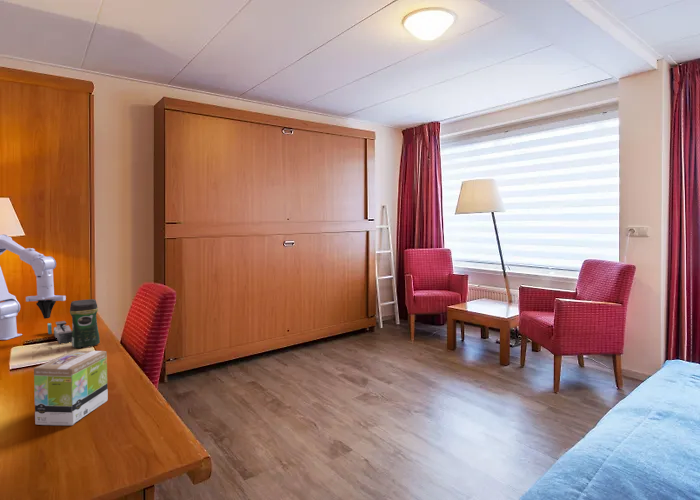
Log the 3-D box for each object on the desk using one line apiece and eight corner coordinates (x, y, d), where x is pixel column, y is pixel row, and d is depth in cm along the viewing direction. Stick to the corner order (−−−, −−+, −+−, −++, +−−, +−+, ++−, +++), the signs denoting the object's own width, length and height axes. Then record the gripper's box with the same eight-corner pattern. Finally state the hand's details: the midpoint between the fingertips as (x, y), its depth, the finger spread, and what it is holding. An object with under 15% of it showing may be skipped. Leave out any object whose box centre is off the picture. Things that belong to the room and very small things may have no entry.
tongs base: (57, 333, 189) (56, 323, 189) (68, 331, 192) (68, 322, 191) (60, 343, 173) (60, 333, 173) (73, 342, 176) (72, 332, 175)
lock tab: (48, 332, 190) (47, 323, 189) (51, 331, 190) (50, 323, 190) (48, 334, 186) (48, 325, 186) (51, 333, 187) (51, 324, 187)
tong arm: (53, 333, 188) (52, 322, 188) (65, 331, 191) (64, 320, 191) (59, 344, 173) (59, 332, 172) (72, 341, 176) (72, 330, 175)
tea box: (74, 426, 105) (71, 368, 104) (34, 426, 106) (30, 368, 104) (109, 400, 120) (107, 349, 119) (74, 400, 121) (72, 349, 119)
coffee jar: (99, 341, 177) (97, 297, 176) (100, 345, 171) (98, 300, 169) (71, 345, 172) (69, 299, 170) (71, 350, 165) (69, 303, 164)
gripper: (20, 287, 172) (22, 320, 173) (58, 287, 174) (60, 319, 175) (31, 284, 179) (33, 316, 180) (67, 284, 181) (69, 315, 182)
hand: (47, 317), depth 178 cm, fingers closed
